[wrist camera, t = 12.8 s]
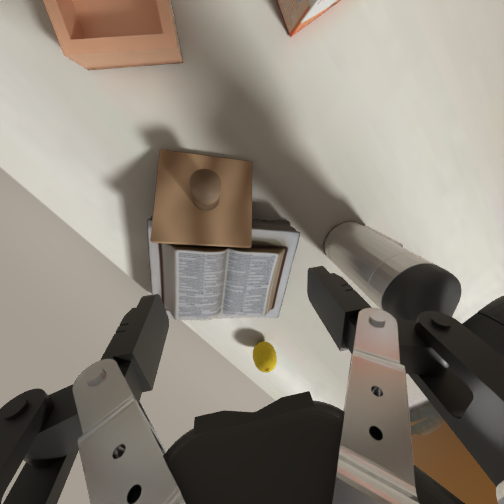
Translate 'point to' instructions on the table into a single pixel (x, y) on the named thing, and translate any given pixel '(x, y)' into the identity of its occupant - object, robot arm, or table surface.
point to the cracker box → (302, 12)
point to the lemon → (264, 356)
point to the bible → (225, 274)
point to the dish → (115, 32)
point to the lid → (202, 201)
